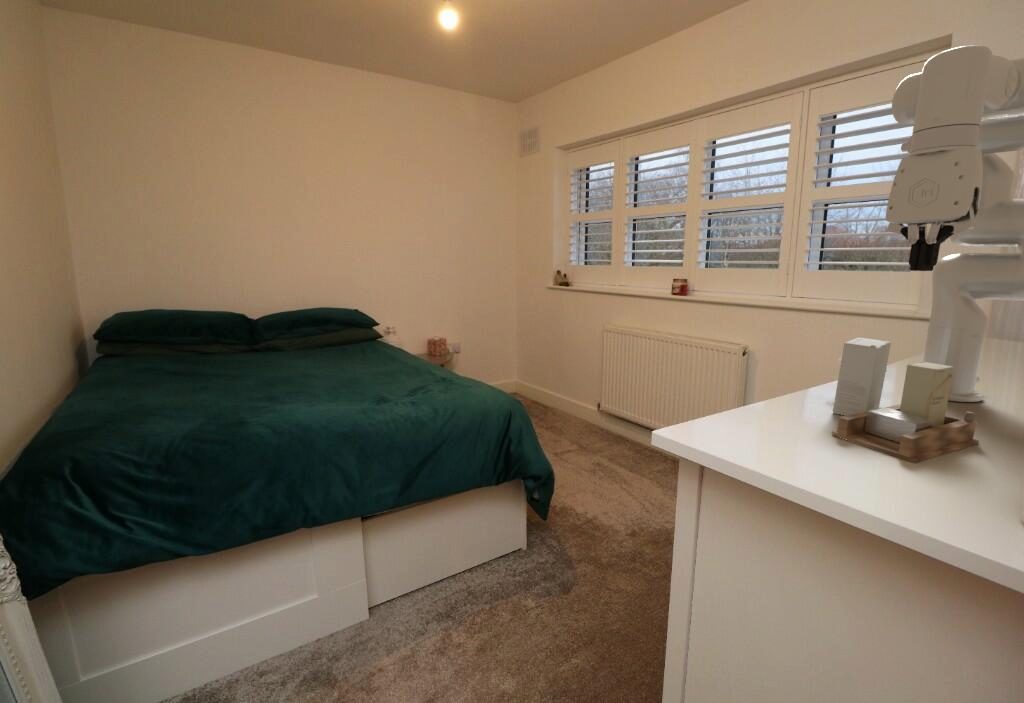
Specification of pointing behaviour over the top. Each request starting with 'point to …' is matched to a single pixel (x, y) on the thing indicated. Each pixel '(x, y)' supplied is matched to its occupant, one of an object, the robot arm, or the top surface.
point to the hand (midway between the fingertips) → (921, 270)
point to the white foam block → (894, 423)
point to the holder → (912, 437)
